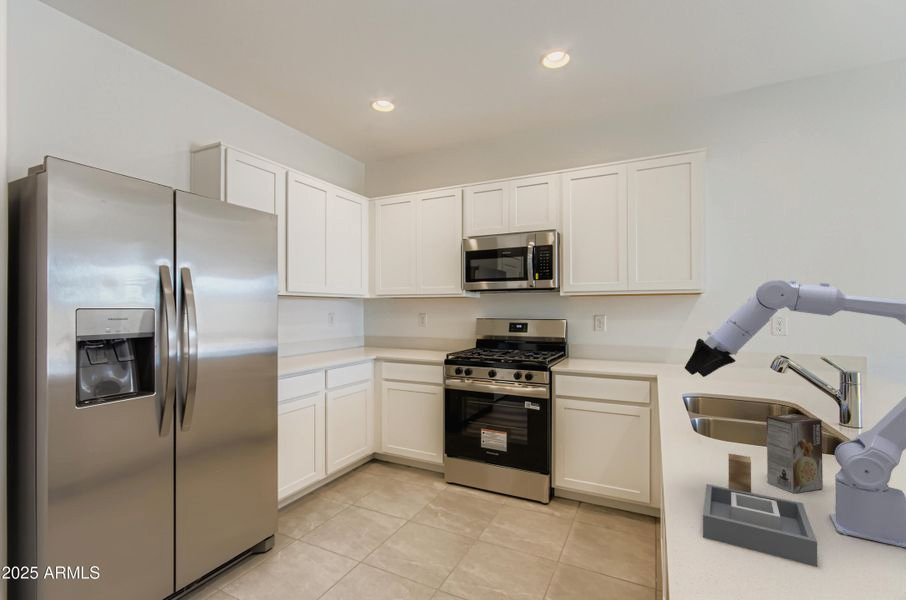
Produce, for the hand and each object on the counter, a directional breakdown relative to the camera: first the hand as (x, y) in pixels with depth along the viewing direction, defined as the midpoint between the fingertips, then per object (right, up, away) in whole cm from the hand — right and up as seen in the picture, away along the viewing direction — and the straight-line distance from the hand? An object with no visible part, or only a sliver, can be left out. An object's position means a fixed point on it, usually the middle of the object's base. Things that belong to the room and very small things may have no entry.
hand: (694, 372), depth 96 cm
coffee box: (+26, -27, +4) cm, 38 cm away
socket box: (+2, -27, -16) cm, 31 cm away
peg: (+8, -27, -3) cm, 29 cm away
